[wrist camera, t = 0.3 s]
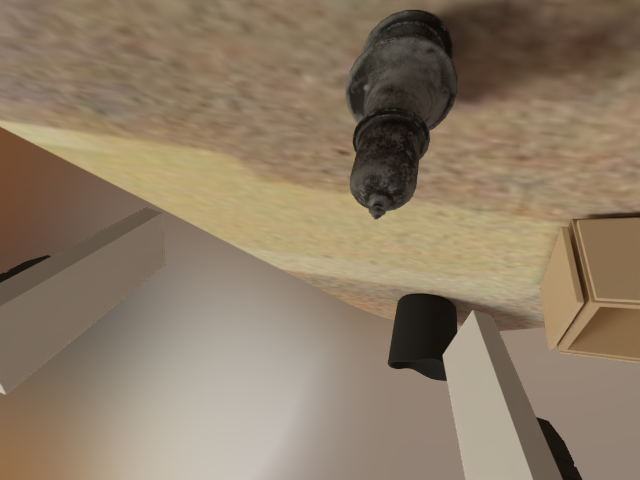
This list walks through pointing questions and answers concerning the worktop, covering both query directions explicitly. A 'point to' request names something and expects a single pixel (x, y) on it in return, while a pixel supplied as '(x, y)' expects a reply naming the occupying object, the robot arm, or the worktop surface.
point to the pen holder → (422, 334)
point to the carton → (594, 289)
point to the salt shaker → (397, 105)
